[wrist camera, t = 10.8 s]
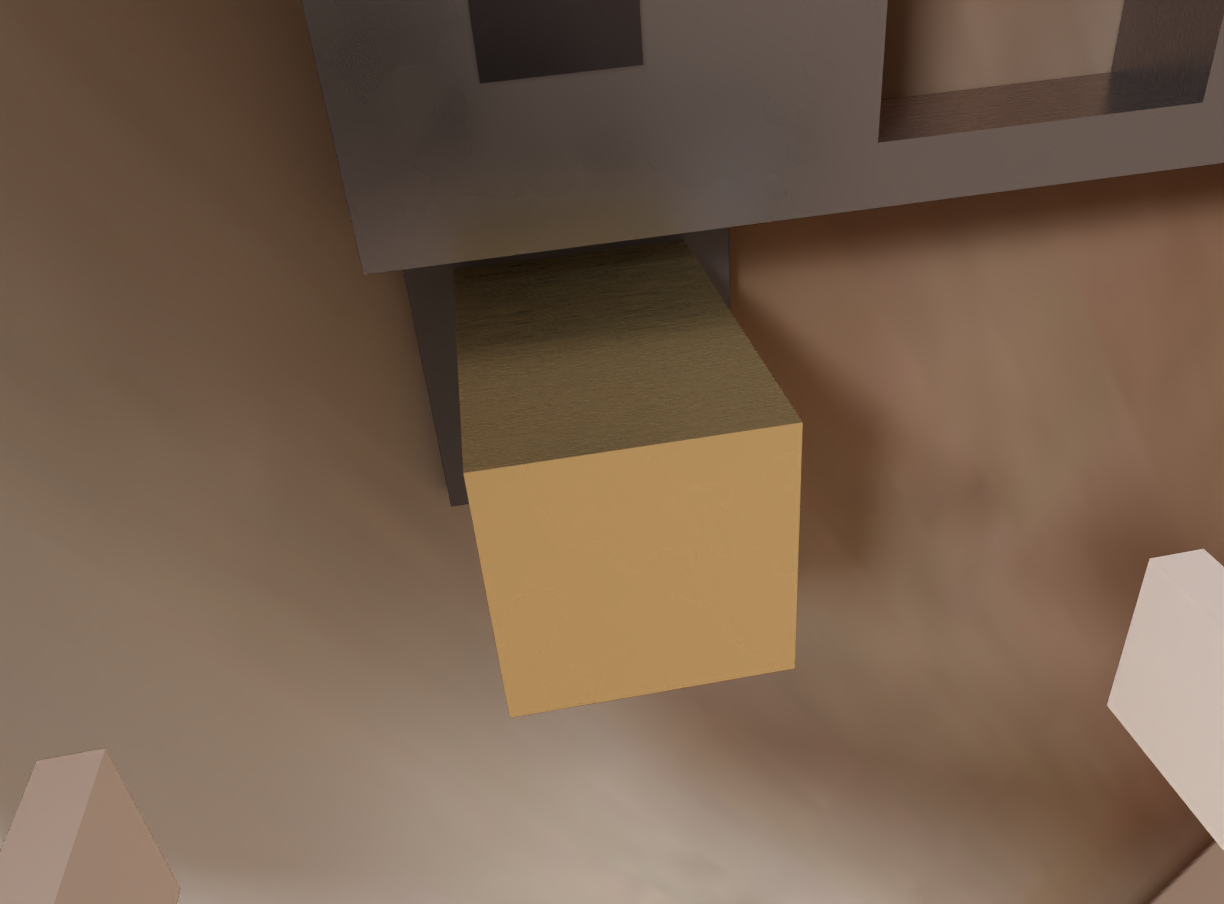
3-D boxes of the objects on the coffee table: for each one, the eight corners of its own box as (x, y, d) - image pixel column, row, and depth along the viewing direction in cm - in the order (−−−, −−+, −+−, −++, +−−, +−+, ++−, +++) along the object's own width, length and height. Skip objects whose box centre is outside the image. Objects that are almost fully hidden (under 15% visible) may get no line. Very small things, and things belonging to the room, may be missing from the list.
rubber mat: (450, 492, 24) (451, 506, 24) (395, 219, 20) (395, 228, 20) (725, 451, 25) (731, 463, 24) (720, 178, 21) (727, 186, 21)
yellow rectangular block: (487, 467, 23) (509, 718, 17) (452, 270, 21) (463, 473, 14) (691, 436, 24) (794, 668, 17) (684, 240, 21) (802, 422, 14)
